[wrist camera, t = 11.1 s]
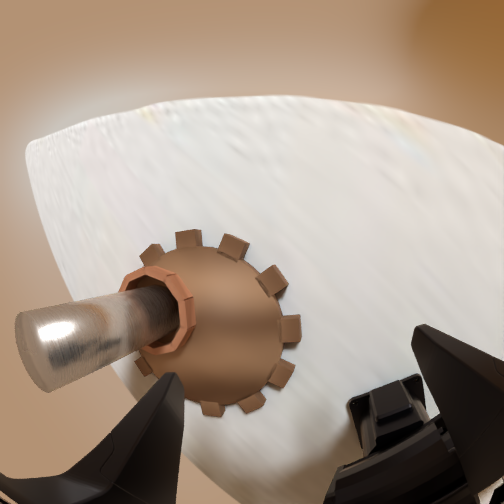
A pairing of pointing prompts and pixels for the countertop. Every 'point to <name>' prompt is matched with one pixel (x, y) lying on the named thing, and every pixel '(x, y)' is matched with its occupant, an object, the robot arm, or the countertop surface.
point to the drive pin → (92, 333)
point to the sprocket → (218, 322)
